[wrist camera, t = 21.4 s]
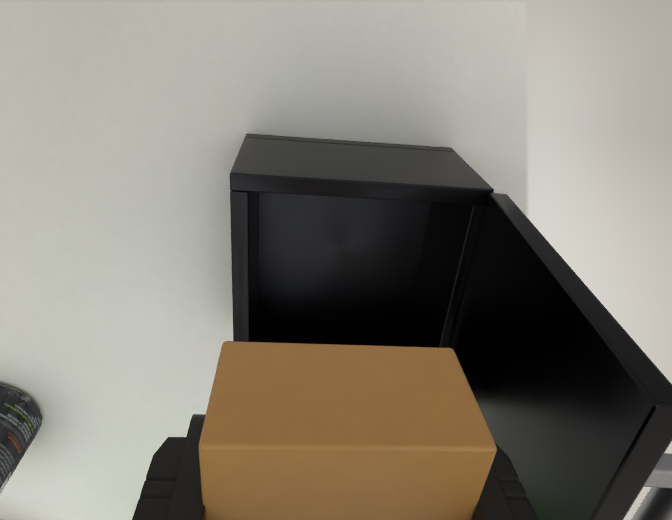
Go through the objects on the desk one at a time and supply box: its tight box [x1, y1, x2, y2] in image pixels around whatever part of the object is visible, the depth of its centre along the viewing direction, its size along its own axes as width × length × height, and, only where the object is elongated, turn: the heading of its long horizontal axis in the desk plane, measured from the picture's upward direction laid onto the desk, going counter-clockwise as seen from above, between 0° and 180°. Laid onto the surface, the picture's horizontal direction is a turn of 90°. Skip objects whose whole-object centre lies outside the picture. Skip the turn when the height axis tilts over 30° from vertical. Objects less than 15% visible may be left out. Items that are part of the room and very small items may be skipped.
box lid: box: [450, 193, 672, 520], centre depth 18 cm, size 12×13×5 cm
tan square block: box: [199, 341, 497, 520], centre depth 11 cm, size 6×6×3 cm
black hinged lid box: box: [230, 134, 494, 348], centre depth 26 cm, size 12×13×7 cm
